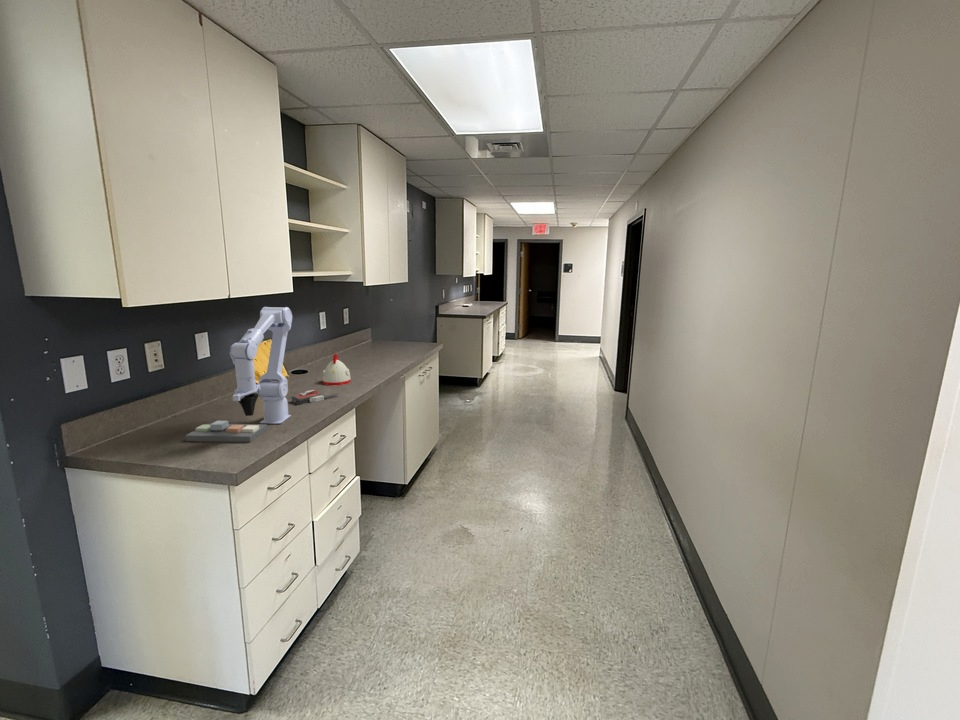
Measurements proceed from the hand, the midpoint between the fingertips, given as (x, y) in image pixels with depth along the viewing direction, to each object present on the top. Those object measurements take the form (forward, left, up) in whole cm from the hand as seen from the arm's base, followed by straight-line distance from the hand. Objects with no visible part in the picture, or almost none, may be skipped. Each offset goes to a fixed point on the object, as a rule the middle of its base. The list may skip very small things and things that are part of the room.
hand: (249, 415), depth 155 cm
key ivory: (0, 0, -7) cm, 7 cm away
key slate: (0, -11, -6) cm, 12 cm away
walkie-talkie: (-45, +5, -8) cm, 46 cm away
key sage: (0, -16, -7) cm, 18 cm away
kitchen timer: (-77, +5, -8) cm, 78 cm away
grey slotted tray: (0, -8, -8) cm, 11 cm away
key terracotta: (0, -5, -7) cm, 9 cm away
